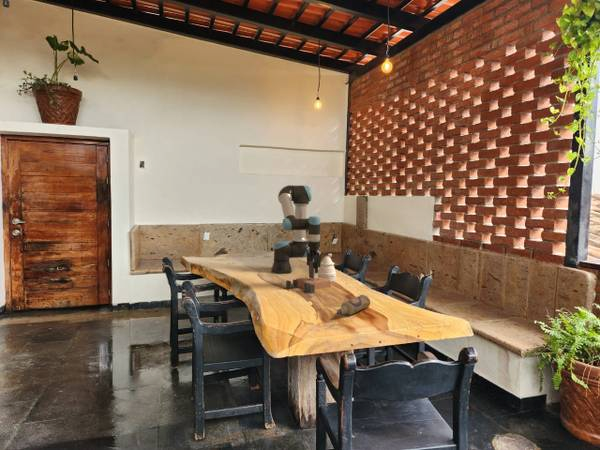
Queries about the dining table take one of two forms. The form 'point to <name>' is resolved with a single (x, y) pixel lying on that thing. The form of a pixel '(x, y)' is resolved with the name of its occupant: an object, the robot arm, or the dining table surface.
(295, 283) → the clip
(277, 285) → the dining table surface
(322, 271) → the honey pot
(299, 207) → the robot arm
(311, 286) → the clip
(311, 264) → the plug
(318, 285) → the end holder
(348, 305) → the decorative bottle
